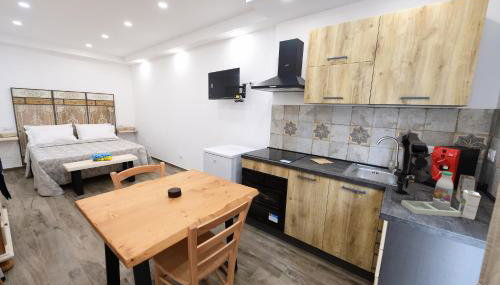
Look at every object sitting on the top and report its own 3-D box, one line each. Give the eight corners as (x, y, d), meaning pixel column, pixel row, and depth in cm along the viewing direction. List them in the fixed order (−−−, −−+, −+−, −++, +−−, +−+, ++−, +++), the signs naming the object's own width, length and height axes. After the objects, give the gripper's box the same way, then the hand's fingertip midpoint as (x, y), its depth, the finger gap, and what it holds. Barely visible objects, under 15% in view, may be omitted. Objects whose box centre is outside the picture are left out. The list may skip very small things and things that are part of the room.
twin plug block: (431, 208, 115) (433, 197, 114) (440, 208, 115) (443, 197, 114) (438, 212, 110) (441, 201, 109) (448, 213, 110) (451, 201, 109)
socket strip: (400, 205, 119) (401, 200, 119) (441, 208, 118) (442, 202, 117) (414, 215, 108) (415, 209, 108) (459, 218, 107) (461, 212, 107)
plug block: (402, 189, 124) (404, 178, 123) (411, 189, 124) (413, 179, 123) (408, 192, 119) (410, 181, 118) (417, 193, 119) (419, 182, 118)
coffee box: (472, 205, 125) (479, 180, 122) (458, 201, 128) (464, 177, 125) (468, 199, 132) (474, 176, 129) (454, 197, 136) (460, 174, 133)
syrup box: (456, 213, 112) (462, 189, 110) (472, 217, 109) (478, 192, 106) (458, 217, 108) (464, 192, 106) (474, 222, 104) (481, 195, 102)
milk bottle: (432, 199, 130) (439, 169, 127) (449, 203, 125) (456, 172, 122) (431, 202, 125) (438, 171, 122) (449, 207, 120) (456, 175, 116)
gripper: (408, 166, 111) (403, 193, 114) (443, 168, 110) (437, 195, 113) (395, 161, 122) (391, 185, 125) (427, 163, 121) (422, 187, 124)
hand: (410, 188), depth 122 cm, fingers closed on plug block, 5 cm apart
